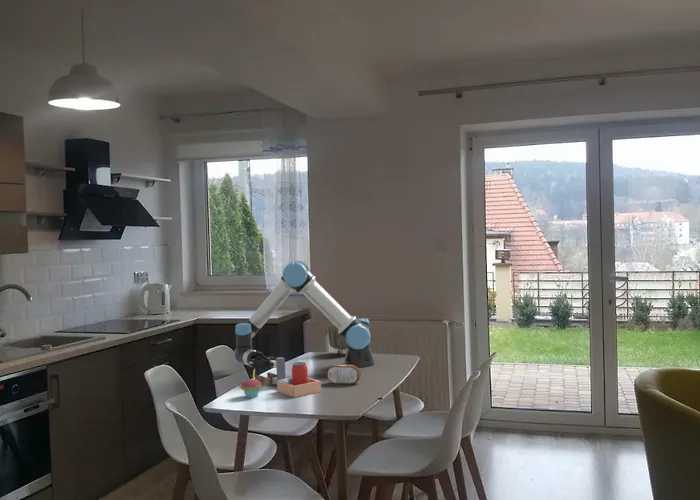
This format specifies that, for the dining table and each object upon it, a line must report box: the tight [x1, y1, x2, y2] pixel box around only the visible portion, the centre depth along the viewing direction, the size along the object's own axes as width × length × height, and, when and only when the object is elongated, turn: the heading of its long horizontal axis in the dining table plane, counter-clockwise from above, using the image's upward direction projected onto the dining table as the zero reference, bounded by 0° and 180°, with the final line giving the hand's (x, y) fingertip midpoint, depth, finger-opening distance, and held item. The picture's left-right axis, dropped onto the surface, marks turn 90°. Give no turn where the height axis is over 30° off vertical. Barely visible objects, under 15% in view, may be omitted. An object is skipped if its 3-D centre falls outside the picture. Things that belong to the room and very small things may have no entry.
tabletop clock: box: [328, 323, 347, 356], centre depth 349 cm, size 14×9×25 cm, turn 52°
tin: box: [326, 363, 362, 385], centre depth 279 cm, size 15×3×8 cm, turn 74°
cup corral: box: [276, 377, 322, 398], centre depth 268 cm, size 14×13×4 cm
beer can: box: [291, 361, 309, 386], centre depth 267 cm, size 7×7×12 cm
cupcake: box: [240, 367, 263, 399], centre depth 263 cm, size 9×8×12 cm
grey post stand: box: [272, 357, 292, 386], centre depth 276 cm, size 16×6×12 cm, turn 36°
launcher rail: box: [254, 372, 277, 387], centre depth 288 cm, size 14×7×3 cm, turn 36°
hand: (278, 365), depth 281 cm, fingers closed
